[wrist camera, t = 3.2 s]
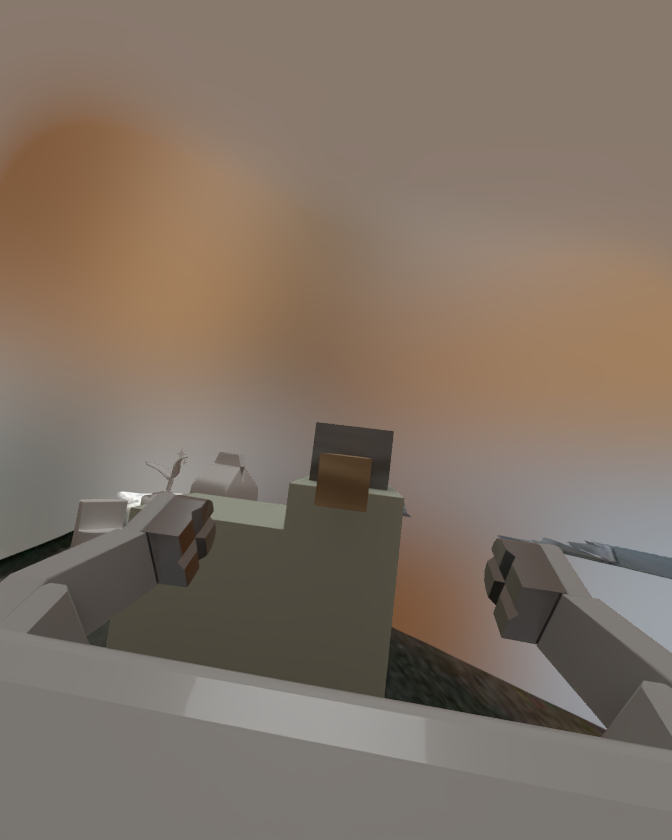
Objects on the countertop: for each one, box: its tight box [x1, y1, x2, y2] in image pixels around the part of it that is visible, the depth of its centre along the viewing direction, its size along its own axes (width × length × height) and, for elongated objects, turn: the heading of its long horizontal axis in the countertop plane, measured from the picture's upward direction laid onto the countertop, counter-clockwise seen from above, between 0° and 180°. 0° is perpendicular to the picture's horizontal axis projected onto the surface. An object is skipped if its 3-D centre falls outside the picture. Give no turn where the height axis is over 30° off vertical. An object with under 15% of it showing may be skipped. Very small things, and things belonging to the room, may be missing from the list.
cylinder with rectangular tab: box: [71, 499, 128, 548], centre depth 75 cm, size 9×9×12 cm
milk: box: [190, 452, 258, 501], centre depth 77 cm, size 12×12×26 cm
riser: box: [106, 475, 404, 698], centre depth 34 cm, size 12×24×26 cm, turn 86°
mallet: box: [309, 422, 394, 512], centre depth 30 cm, size 21×8×6 cm, turn 176°
